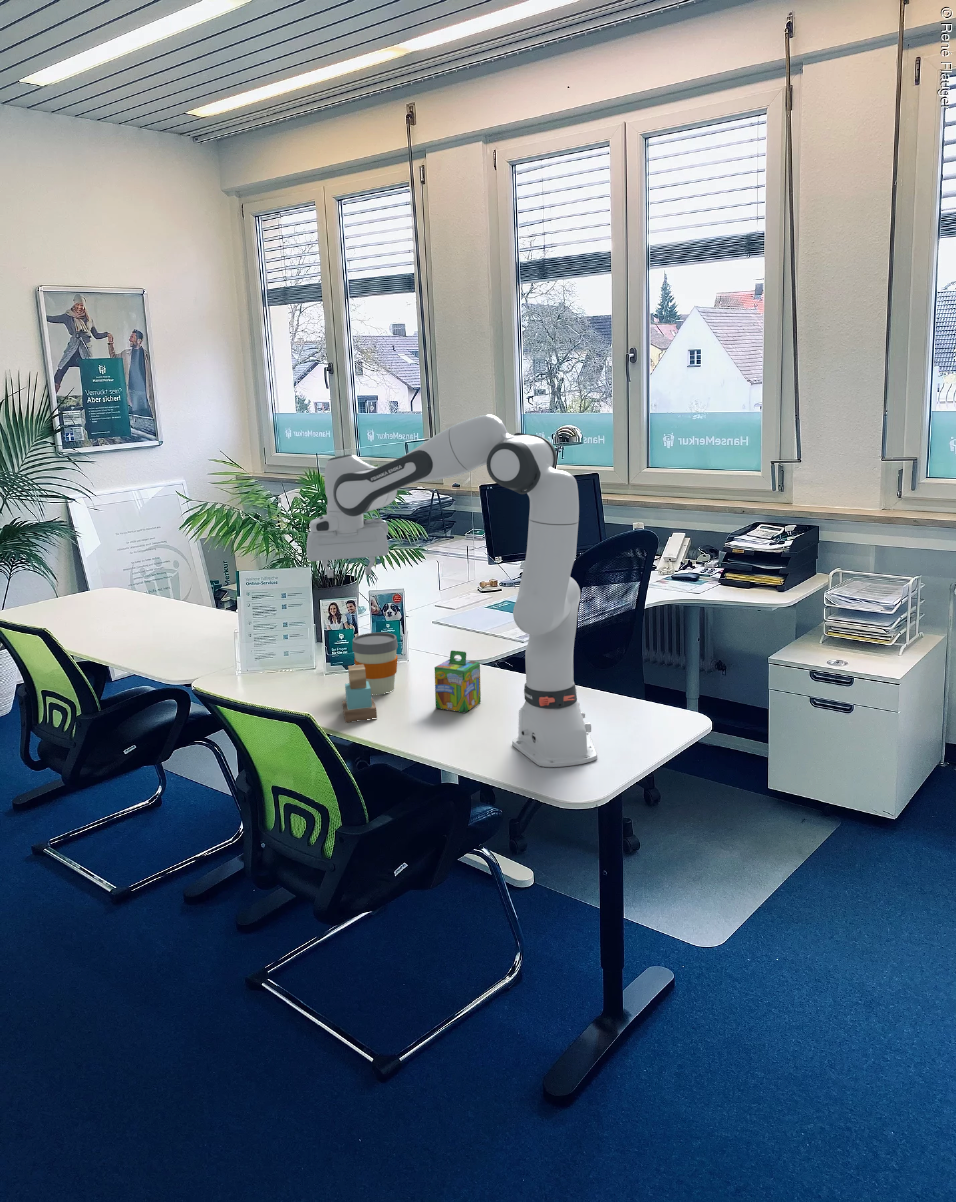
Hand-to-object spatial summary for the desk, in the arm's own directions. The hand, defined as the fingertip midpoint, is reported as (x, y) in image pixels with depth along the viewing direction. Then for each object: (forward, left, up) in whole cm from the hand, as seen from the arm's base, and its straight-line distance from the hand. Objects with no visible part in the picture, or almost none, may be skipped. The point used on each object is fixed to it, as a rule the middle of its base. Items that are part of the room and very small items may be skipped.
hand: (349, 575), depth 240 cm
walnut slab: (0, 0, -37) cm, 37 cm away
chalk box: (-1, -26, -37) cm, 46 cm away
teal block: (0, 0, -34) cm, 34 cm away
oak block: (0, 0, -29) cm, 29 cm away
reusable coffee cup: (+19, -7, -37) cm, 42 cm away
